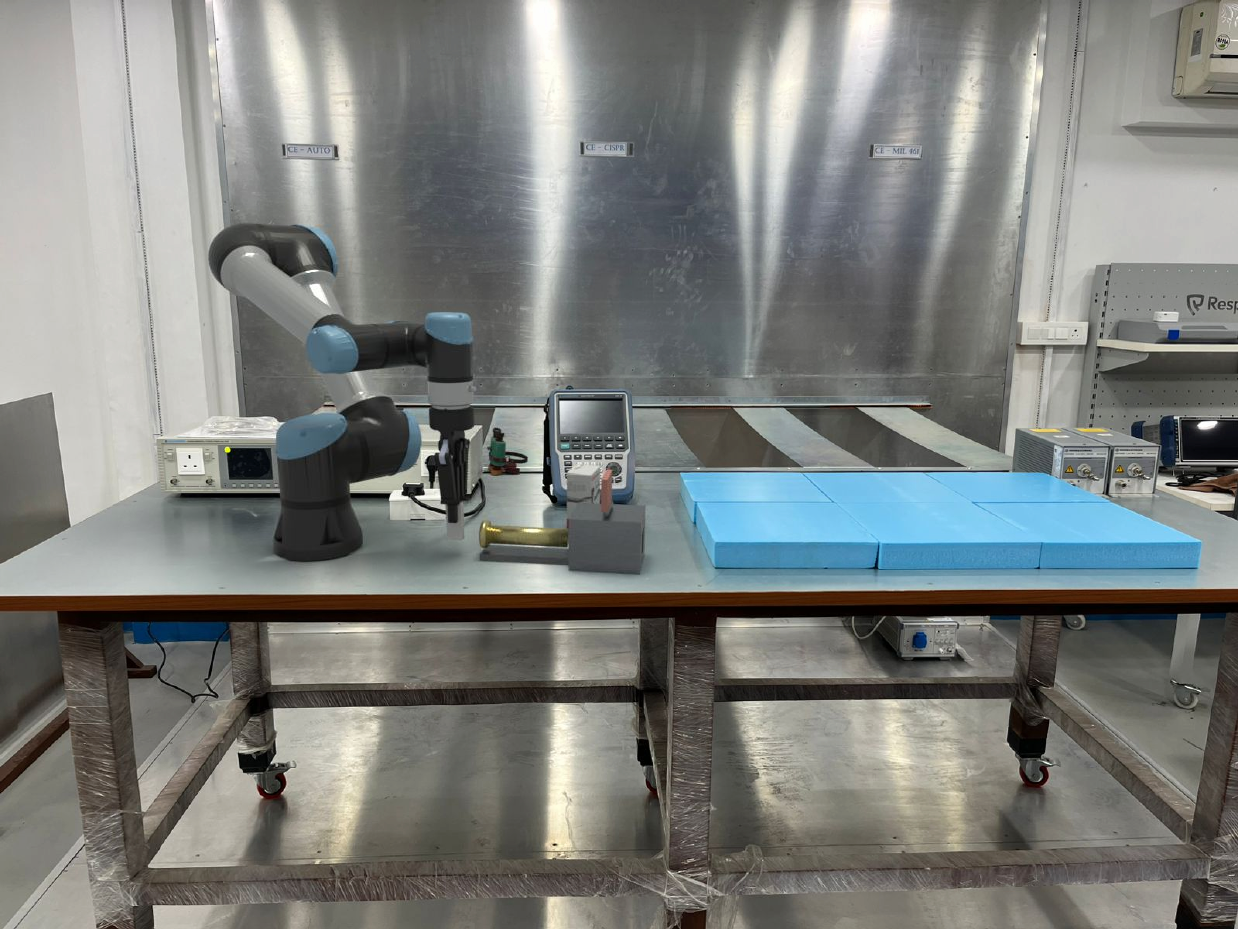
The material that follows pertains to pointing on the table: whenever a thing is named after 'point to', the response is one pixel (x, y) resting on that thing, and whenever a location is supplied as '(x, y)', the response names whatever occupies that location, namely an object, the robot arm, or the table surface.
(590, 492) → the ink box
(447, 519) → the robot arm
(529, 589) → the table surface
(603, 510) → the salmon pink slab
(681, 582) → the table surface
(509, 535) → the lynch pin
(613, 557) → the block
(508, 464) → the green pump
